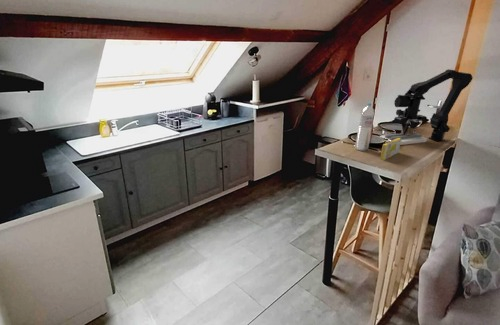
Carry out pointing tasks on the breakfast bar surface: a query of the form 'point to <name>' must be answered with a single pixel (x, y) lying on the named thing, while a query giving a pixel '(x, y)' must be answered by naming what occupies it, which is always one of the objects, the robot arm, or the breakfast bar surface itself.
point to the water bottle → (365, 128)
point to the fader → (408, 131)
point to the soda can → (371, 133)
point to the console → (406, 138)
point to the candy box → (390, 148)
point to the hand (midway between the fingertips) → (407, 133)
